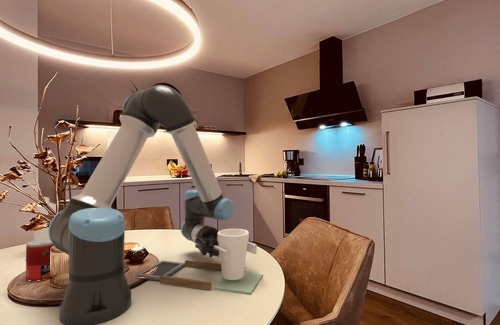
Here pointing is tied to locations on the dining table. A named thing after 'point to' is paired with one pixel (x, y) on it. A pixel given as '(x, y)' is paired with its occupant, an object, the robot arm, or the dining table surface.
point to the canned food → (38, 259)
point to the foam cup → (233, 252)
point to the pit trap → (162, 270)
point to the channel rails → (191, 282)
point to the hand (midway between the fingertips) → (241, 252)
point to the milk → (44, 232)
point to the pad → (240, 283)
